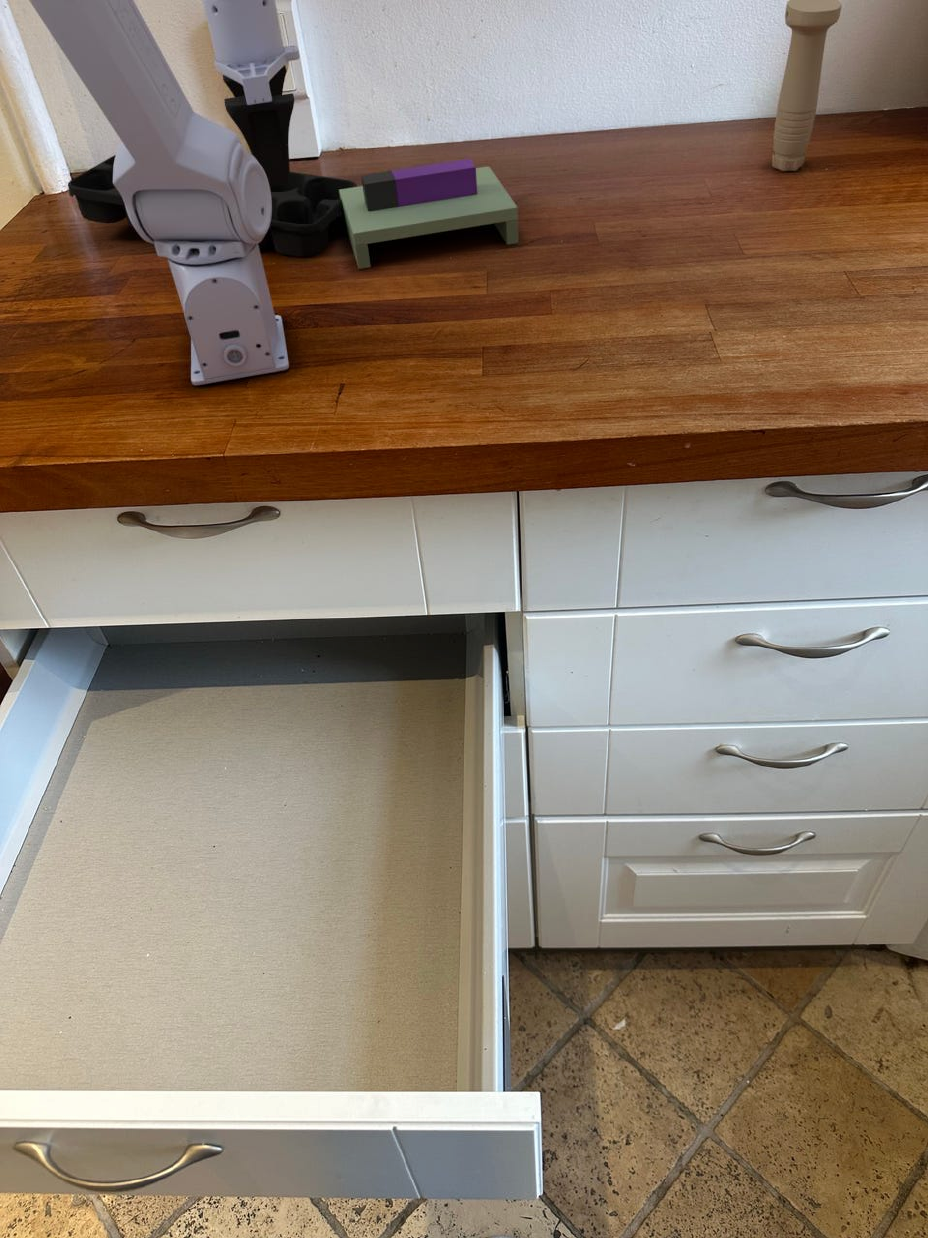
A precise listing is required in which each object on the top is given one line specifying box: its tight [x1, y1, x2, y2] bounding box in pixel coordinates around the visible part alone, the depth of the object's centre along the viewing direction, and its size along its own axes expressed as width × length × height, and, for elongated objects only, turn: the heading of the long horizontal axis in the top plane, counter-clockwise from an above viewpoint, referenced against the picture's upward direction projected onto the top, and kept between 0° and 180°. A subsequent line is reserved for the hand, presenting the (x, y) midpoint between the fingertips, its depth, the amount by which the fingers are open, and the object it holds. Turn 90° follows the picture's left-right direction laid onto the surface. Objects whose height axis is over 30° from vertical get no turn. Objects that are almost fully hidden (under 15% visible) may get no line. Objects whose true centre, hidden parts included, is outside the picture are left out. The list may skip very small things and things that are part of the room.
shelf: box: [339, 165, 520, 270], centre depth 92 cm, size 12×16×4 cm
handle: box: [771, 0, 843, 172], centre depth 94 cm, size 5×6×15 cm
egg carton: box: [67, 154, 358, 258], centre depth 97 cm, size 18×30×4 cm, turn 84°
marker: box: [360, 158, 477, 211], centre depth 90 cm, size 3×11×3 cm, turn 102°
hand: (274, 169), depth 83 cm, fingers open, 7 cm apart
